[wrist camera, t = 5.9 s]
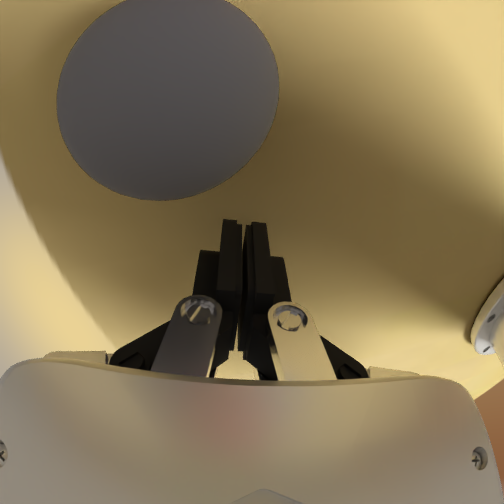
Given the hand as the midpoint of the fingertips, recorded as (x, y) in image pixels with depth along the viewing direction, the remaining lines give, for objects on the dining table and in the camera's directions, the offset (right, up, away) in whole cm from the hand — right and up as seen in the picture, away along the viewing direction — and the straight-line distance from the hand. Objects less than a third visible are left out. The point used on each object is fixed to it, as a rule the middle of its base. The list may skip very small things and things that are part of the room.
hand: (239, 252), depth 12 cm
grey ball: (-2, +4, -5) cm, 7 cm away
